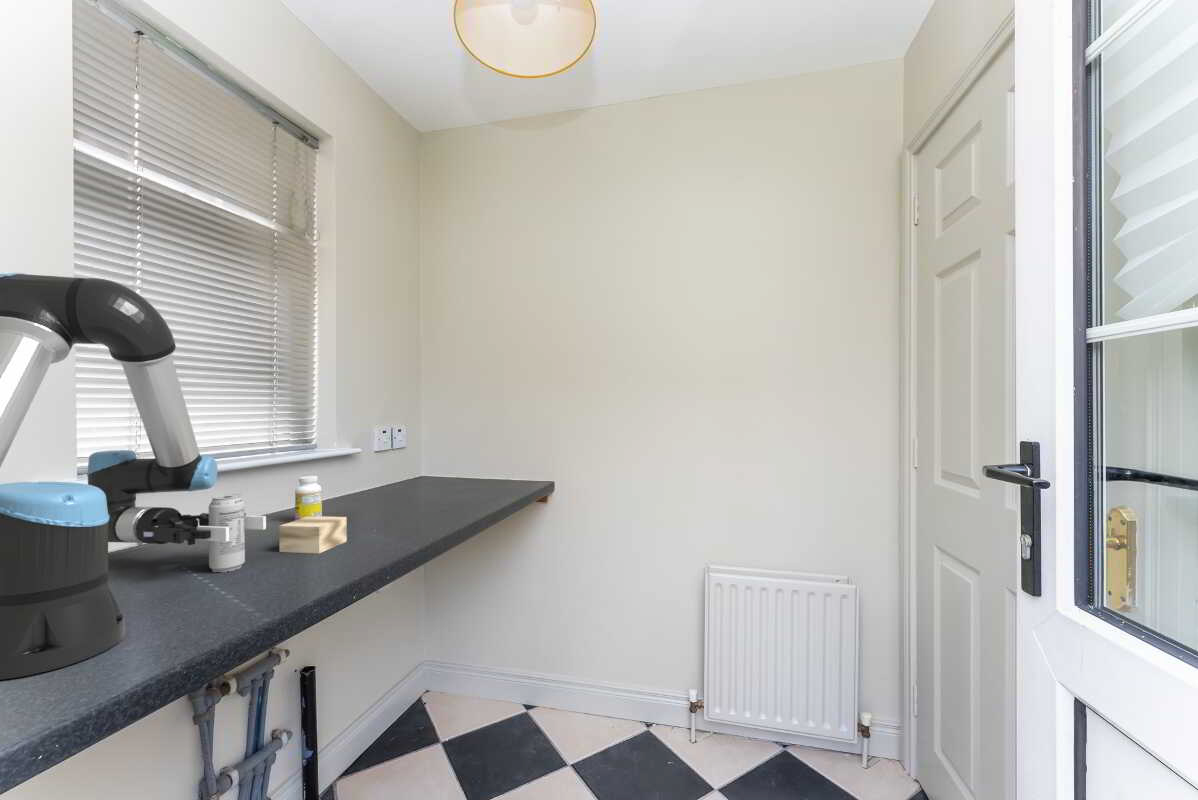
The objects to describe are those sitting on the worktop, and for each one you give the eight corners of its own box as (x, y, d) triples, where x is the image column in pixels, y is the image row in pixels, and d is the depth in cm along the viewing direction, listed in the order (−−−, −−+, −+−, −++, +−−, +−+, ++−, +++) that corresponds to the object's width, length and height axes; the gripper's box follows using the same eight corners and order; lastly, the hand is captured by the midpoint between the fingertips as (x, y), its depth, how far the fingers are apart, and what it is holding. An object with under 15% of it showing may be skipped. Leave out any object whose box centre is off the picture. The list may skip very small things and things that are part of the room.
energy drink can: (237, 562, 112) (236, 492, 112) (250, 567, 108) (249, 495, 108) (204, 570, 107) (203, 497, 107) (216, 575, 103) (215, 500, 103)
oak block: (319, 553, 118) (319, 527, 118) (279, 551, 119) (279, 525, 119) (346, 541, 128) (346, 517, 128) (309, 540, 129) (309, 516, 129)
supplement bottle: (296, 520, 150) (296, 476, 150) (322, 518, 153) (322, 474, 153) (294, 525, 144) (293, 479, 144) (321, 522, 147) (320, 477, 147)
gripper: (197, 530, 121) (285, 533, 117) (96, 558, 99) (200, 562, 96) (197, 497, 121) (285, 499, 117) (95, 519, 99) (199, 522, 96)
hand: (246, 528), depth 107 cm, fingers open, 9 cm apart
